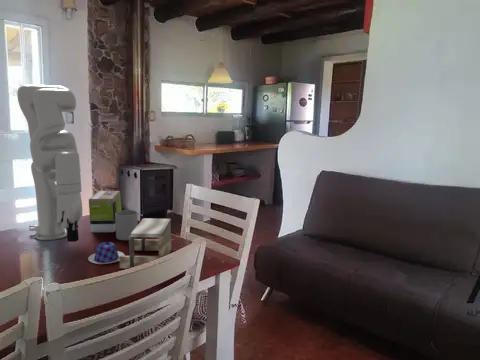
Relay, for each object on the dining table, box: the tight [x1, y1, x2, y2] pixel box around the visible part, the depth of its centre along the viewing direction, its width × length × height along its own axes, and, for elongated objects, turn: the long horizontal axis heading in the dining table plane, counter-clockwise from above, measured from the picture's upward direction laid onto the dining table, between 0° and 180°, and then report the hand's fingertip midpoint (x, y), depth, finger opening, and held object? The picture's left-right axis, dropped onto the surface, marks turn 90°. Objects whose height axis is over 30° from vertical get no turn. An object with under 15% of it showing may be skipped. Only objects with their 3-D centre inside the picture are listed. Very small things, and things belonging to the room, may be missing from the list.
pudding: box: [87, 241, 126, 265], centre depth 133 cm, size 12×12×5 cm
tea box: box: [88, 190, 122, 233], centre depth 166 cm, size 15×10×15 cm, turn 5°
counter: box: [118, 217, 172, 269], centre depth 133 cm, size 14×18×12 cm
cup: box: [115, 209, 139, 241], centre depth 155 cm, size 8×8×10 cm
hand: (73, 240), depth 132 cm, fingers closed
